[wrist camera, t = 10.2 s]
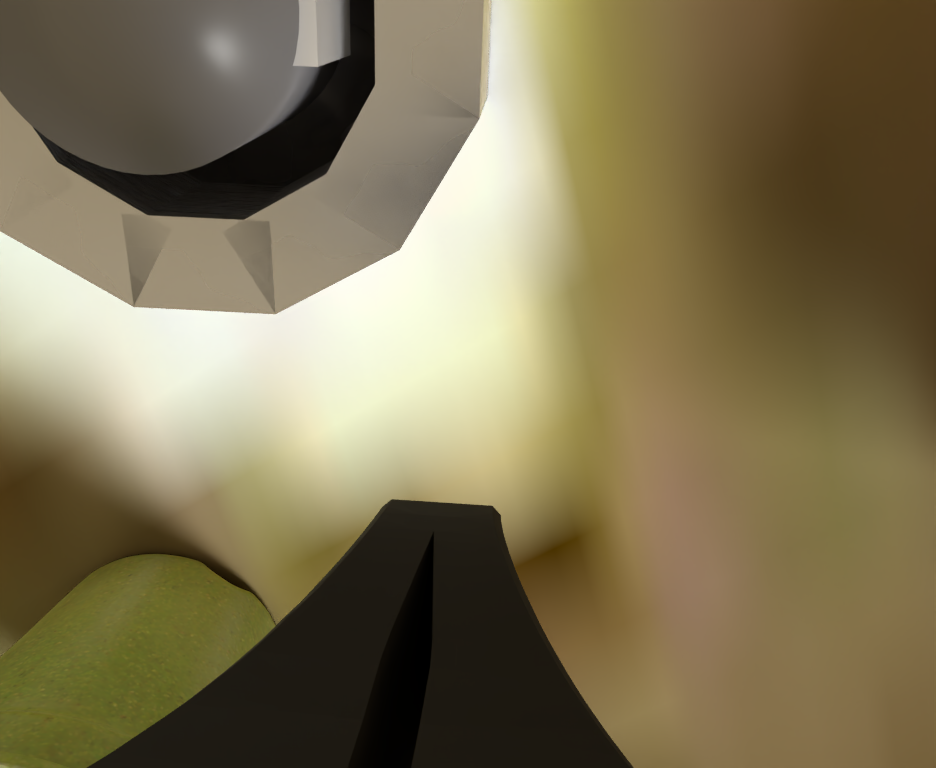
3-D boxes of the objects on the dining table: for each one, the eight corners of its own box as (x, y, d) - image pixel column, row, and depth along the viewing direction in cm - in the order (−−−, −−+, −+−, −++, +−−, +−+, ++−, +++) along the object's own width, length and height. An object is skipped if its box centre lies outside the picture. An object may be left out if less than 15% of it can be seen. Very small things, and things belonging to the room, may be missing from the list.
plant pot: (-51, 520, 23) (-351, 796, 15) (291, 468, 22) (158, 740, 14) (81, 778, 27) (-106, 1110, 19) (380, 746, 25) (315, 1088, 17)
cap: (361, -145, 16) (304, -194, 12) (364, 139, 18) (317, 183, 14) (61, -156, 16) (-97, -208, 12) (98, 127, 18) (-26, 166, 14)
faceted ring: (502, -285, 15) (497, -360, 12) (480, 269, 19) (471, 324, 16) (-57, -299, 16) (-207, -374, 12) (37, 248, 20) (-57, 297, 17)
